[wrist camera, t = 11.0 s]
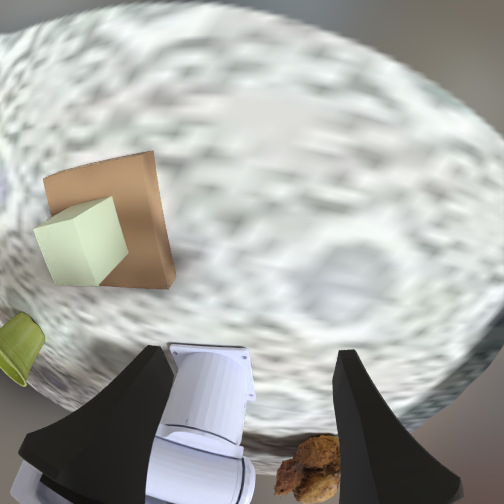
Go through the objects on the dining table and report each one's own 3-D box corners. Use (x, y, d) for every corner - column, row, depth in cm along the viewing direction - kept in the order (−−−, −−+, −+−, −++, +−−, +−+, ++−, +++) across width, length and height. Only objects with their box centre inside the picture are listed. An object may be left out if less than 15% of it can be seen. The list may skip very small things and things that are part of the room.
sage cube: (128, 252, 18) (97, 285, 14) (87, 256, 19) (56, 286, 15) (111, 195, 16) (72, 219, 13) (70, 206, 17) (32, 228, 13)
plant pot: (5, 298, 28) (-26, 331, 20) (35, 307, 27) (0, 348, 19) (29, 342, 32) (5, 375, 25) (62, 354, 31) (36, 394, 24)
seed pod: (292, 458, 24) (252, 502, 27) (399, 475, 21) (343, 518, 24) (300, 397, 37) (267, 450, 40) (386, 419, 34) (343, 468, 37)
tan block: (178, 271, 22) (168, 289, 20) (89, 269, 23) (75, 283, 21) (156, 149, 17) (140, 155, 15) (61, 170, 18) (42, 178, 16)
